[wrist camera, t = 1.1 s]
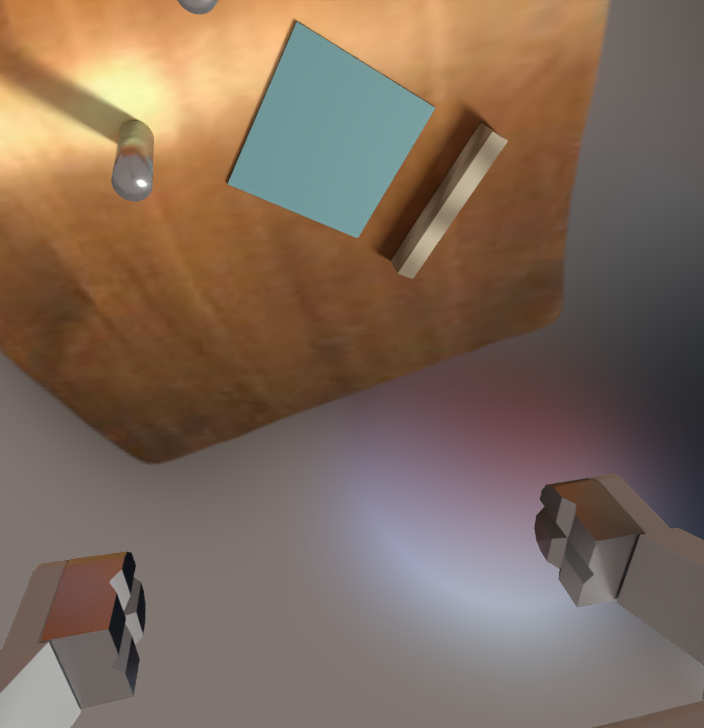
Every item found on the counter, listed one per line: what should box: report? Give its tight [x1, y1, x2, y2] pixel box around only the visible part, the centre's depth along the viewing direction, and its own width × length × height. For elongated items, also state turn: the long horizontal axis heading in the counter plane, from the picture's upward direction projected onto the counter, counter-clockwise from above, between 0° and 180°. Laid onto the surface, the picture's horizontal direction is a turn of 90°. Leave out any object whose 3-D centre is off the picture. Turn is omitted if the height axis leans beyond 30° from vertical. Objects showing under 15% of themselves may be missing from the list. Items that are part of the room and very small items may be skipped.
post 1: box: [112, 120, 154, 201], centre depth 40 cm, size 3×3×9 cm
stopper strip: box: [391, 122, 508, 279], centre depth 53 cm, size 16×2×2 cm, turn 149°
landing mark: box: [228, 21, 435, 238], centre depth 47 cm, size 14×14×1 cm
